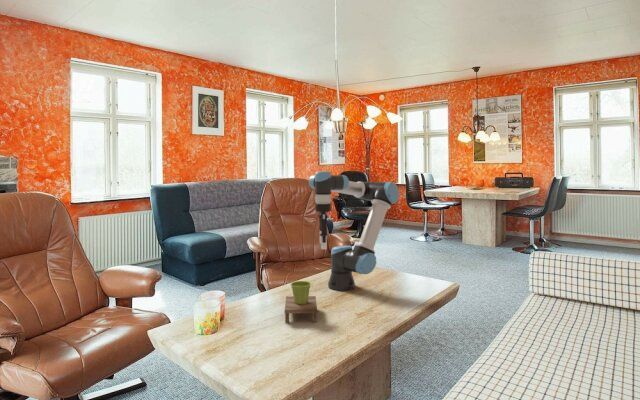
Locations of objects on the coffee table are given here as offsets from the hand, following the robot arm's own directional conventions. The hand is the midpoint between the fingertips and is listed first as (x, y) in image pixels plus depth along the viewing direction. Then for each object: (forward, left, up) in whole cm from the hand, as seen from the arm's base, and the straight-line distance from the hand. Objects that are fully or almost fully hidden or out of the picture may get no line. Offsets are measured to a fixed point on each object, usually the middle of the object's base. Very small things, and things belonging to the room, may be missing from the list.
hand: (323, 246), depth 196 cm
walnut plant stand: (+15, -11, -29) cm, 34 cm away
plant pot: (+15, -11, -23) cm, 30 cm away
